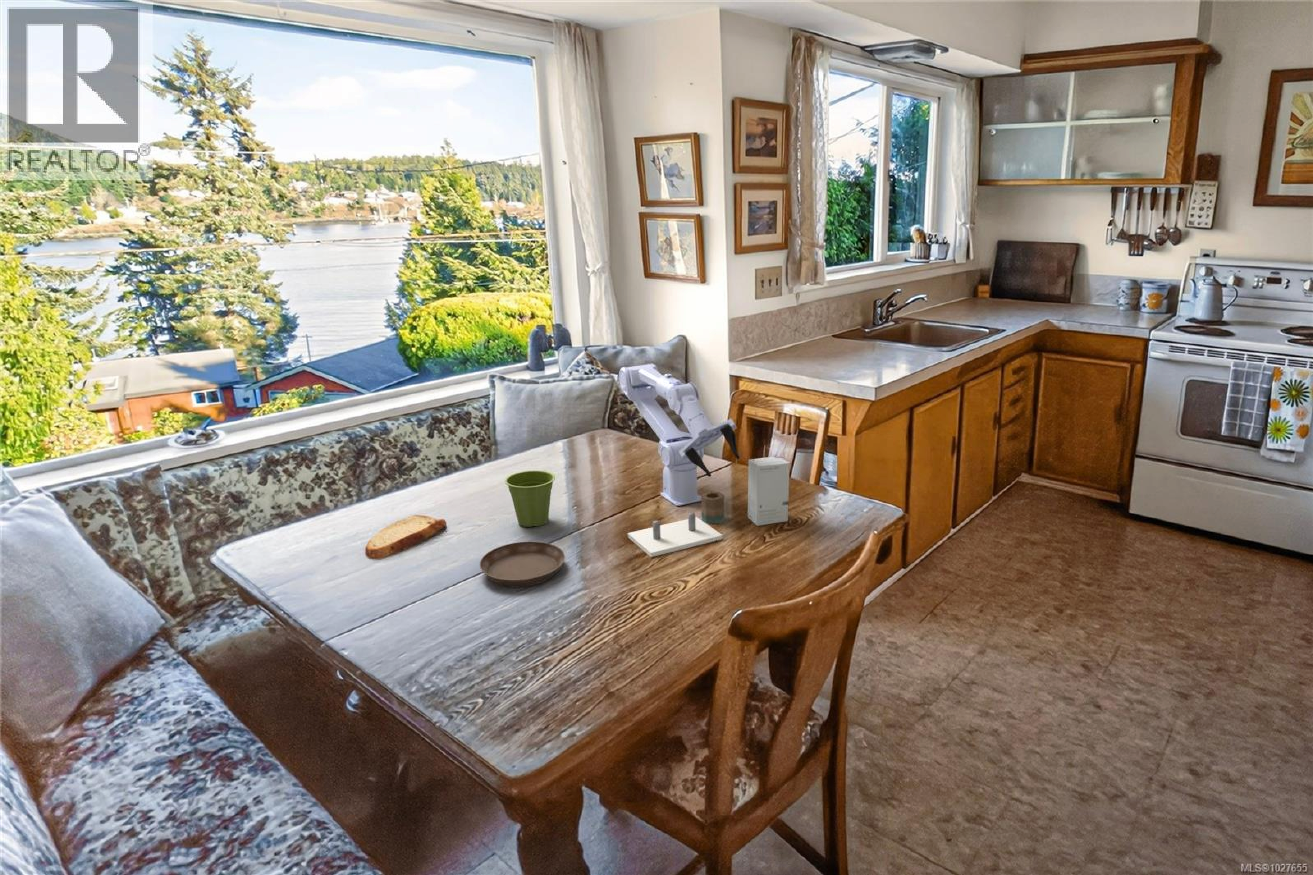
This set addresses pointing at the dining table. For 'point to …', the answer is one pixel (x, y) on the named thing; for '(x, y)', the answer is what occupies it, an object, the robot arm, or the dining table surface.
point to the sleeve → (712, 507)
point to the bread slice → (403, 535)
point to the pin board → (674, 536)
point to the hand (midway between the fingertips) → (723, 465)
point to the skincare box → (768, 490)
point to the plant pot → (531, 496)
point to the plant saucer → (522, 563)
